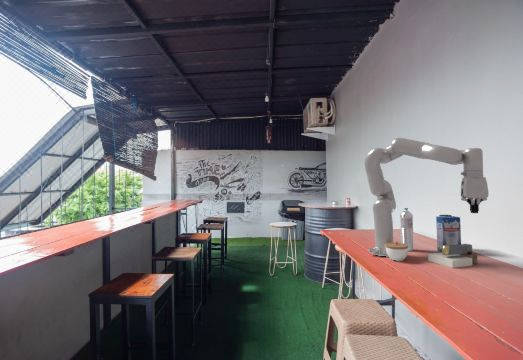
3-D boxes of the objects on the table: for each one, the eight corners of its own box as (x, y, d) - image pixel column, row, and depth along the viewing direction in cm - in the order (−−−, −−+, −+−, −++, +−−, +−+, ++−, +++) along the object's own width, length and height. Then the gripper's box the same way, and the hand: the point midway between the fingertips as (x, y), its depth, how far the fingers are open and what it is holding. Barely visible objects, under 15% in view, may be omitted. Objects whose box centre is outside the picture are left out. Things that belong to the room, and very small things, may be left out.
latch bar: (467, 251, 145) (467, 243, 145) (474, 253, 141) (474, 244, 141) (440, 253, 143) (439, 245, 143) (446, 255, 139) (446, 246, 139)
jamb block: (471, 264, 139) (470, 255, 140) (459, 261, 145) (459, 252, 145) (477, 264, 141) (477, 254, 141) (465, 261, 146) (465, 251, 146)
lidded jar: (386, 261, 148) (386, 243, 149) (385, 256, 159) (384, 239, 159) (410, 263, 145) (409, 244, 145) (406, 257, 155) (406, 240, 155)
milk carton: (443, 253, 163) (442, 217, 164) (437, 250, 169) (436, 216, 170) (461, 252, 163) (460, 217, 163) (454, 250, 169) (453, 216, 169)
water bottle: (411, 248, 176) (409, 207, 176) (415, 251, 169) (414, 208, 170) (399, 248, 177) (397, 207, 177) (403, 251, 170) (402, 208, 170)
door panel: (452, 267, 135) (452, 259, 135) (428, 260, 149) (427, 253, 149) (472, 265, 138) (472, 257, 138) (446, 258, 152) (446, 251, 152)
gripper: (460, 174, 135) (461, 213, 135) (495, 173, 133) (497, 213, 133) (452, 175, 143) (453, 212, 142) (485, 174, 141) (486, 212, 140)
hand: (474, 212), depth 138 cm, fingers closed
